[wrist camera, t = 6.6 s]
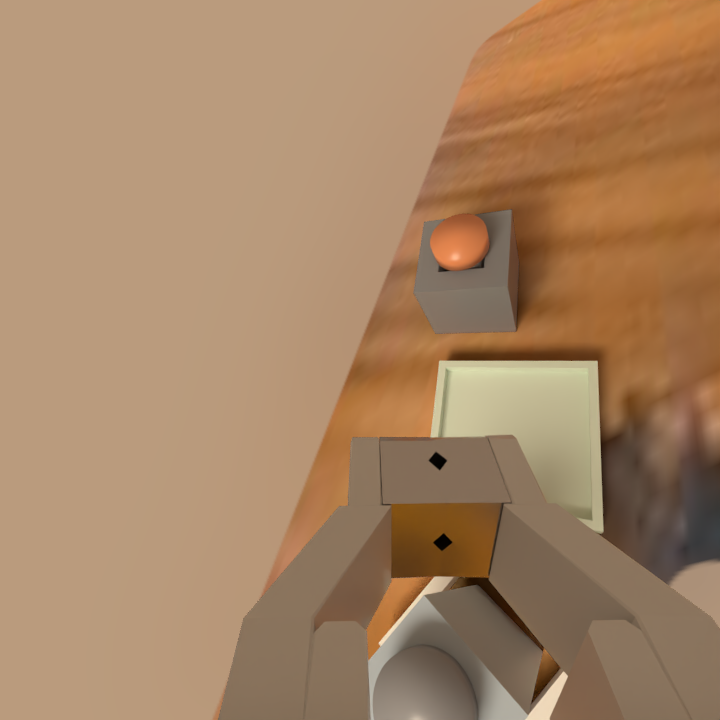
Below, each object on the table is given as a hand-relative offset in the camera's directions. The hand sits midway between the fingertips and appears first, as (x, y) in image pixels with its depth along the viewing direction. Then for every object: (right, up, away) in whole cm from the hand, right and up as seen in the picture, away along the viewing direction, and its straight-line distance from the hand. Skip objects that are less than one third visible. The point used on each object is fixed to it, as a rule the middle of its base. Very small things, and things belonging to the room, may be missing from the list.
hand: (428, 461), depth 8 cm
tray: (+9, -3, +20) cm, 22 cm away
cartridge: (+6, -14, +16) cm, 22 cm away
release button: (+7, +7, +24) cm, 26 cm away
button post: (+8, +7, +25) cm, 27 cm away
